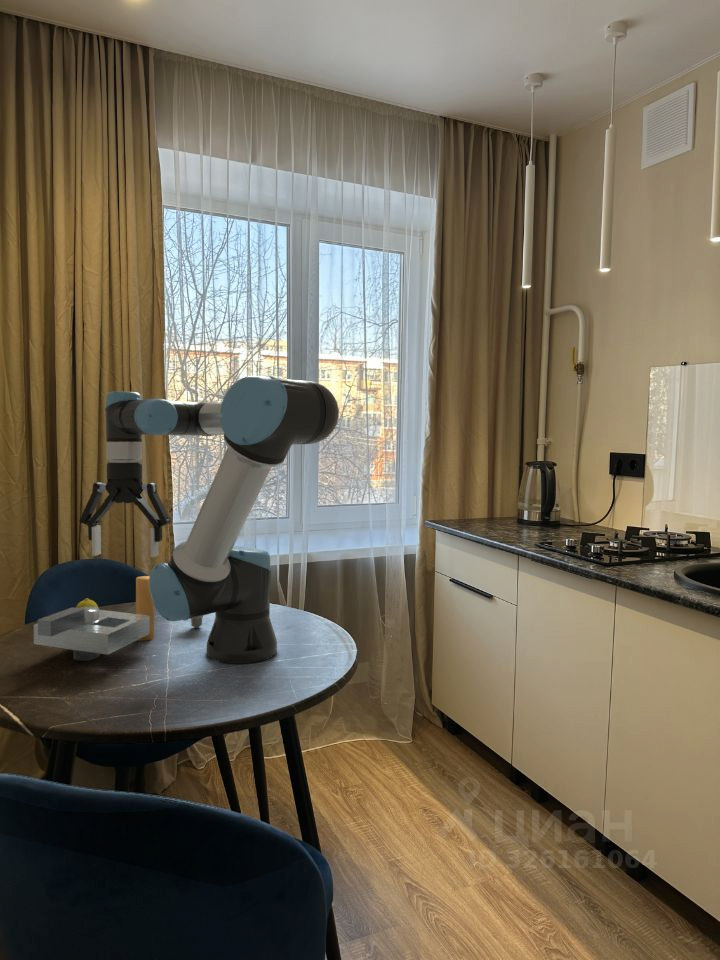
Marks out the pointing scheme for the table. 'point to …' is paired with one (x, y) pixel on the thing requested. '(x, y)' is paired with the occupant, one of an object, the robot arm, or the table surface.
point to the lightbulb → (196, 621)
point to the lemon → (87, 603)
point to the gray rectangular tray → (90, 631)
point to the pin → (145, 603)
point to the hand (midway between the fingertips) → (125, 555)
